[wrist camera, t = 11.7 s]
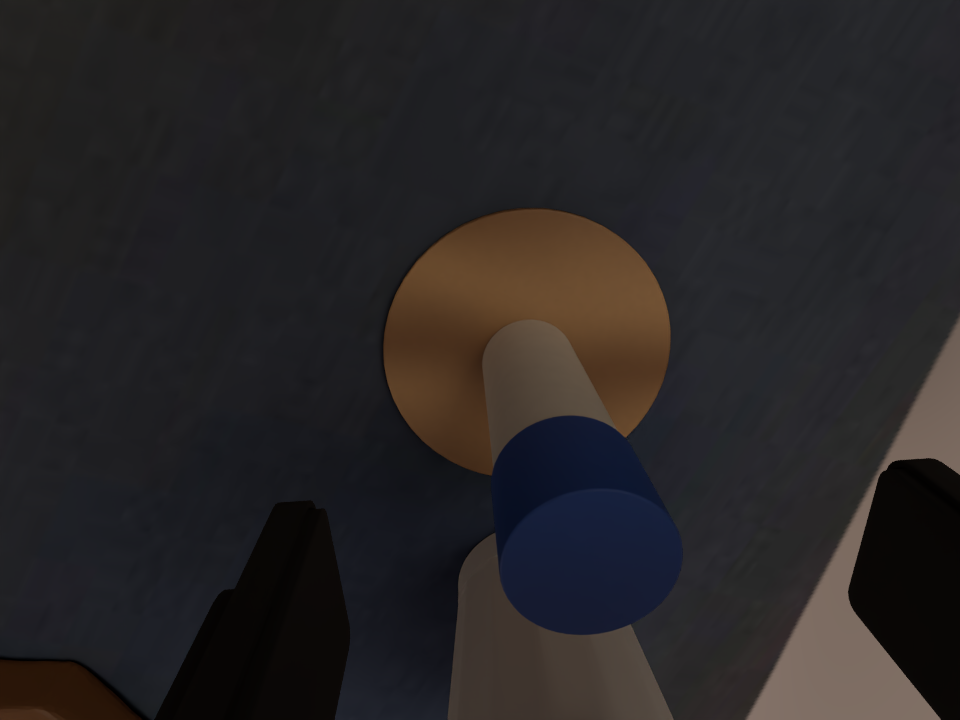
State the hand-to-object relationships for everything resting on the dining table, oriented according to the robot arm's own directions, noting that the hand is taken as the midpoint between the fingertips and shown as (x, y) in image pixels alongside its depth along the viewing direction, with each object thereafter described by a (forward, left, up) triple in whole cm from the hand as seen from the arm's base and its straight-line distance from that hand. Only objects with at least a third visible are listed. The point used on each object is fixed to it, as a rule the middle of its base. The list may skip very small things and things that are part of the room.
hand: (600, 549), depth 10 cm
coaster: (+1, 0, -11) cm, 11 cm away
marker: (+1, 0, -11) cm, 10 cm away
